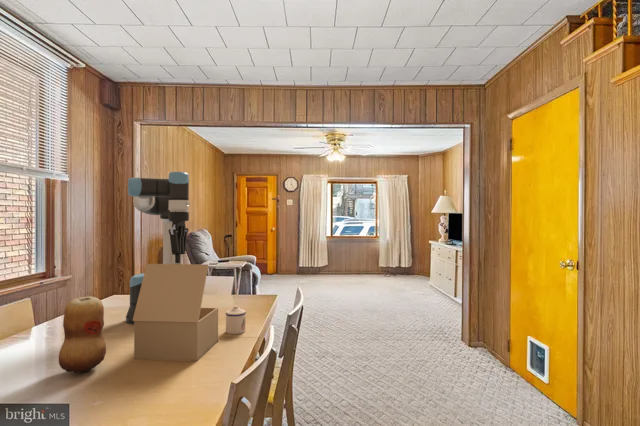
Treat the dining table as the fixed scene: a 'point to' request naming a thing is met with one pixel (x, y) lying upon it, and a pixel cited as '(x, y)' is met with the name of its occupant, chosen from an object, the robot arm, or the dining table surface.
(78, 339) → the butternut squash
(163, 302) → the carton lid
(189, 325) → the carton
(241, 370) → the dining table surface
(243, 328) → the teacup with lid
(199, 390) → the dining table surface
